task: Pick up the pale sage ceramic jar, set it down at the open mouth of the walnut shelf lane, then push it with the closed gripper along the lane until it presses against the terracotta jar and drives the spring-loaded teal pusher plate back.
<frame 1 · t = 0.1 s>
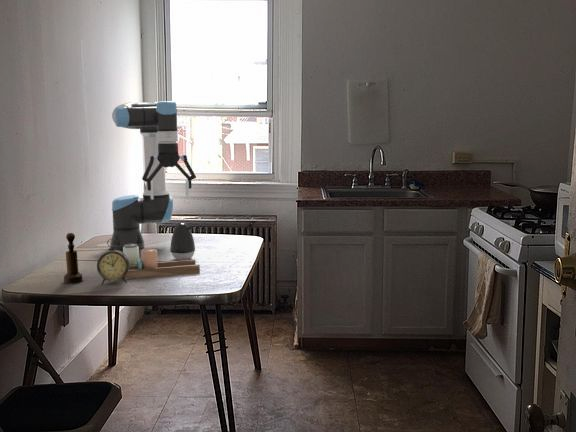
hand: (170, 198, 264), 28 cm above the table, fingers open, 13 cm apart
pusher: (131, 267, 258), point 3 cm above the table, slide at 0.0 cm
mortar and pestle: (73, 281, 251), on the table
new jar: (131, 269, 269), on the table
alarm clock: (114, 283, 248), on the table
lane: (159, 272, 262), on the table
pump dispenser: (183, 259, 285), on the table
jar in lane: (150, 273, 261), resting in lane
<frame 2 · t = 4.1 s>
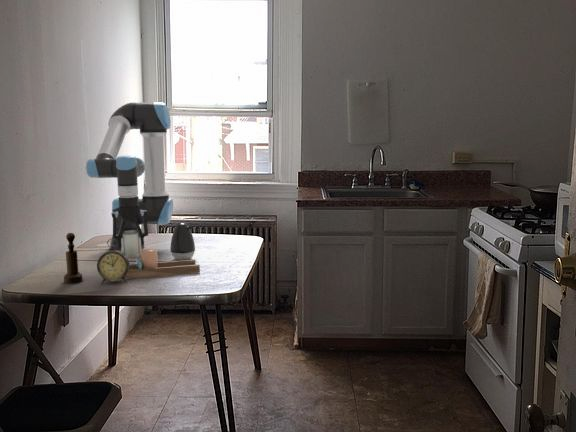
hand: (131, 254, 268), 6 cm above the table, fingers closed on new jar, 6 cm apart
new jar: (131, 255, 268), point 5 cm above the table, touching gripper
everything else where it was.
when the fingers open (1 cm above the table, at t = 8.7 s): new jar stays where it is, resting in lane.
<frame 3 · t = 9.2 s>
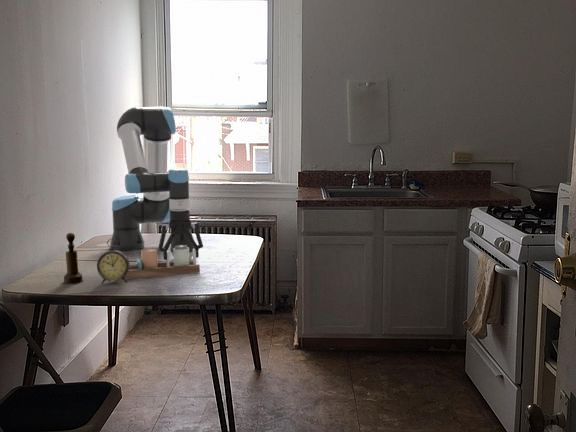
hand: (181, 267, 264), 2 cm above the table, fingers open, 9 cm apart
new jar: (181, 271, 265), resting in lane
everything else where it was.
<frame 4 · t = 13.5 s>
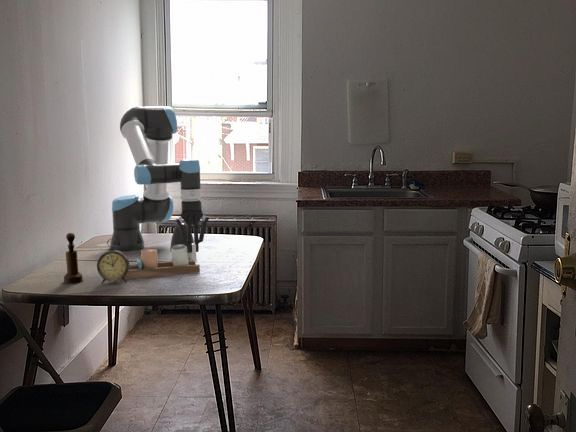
hand: (194, 260, 265), 4 cm above the table, fingers closed
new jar: (181, 270, 264), resting in lane, tilted 6°, touching gripper
everything else where it was.
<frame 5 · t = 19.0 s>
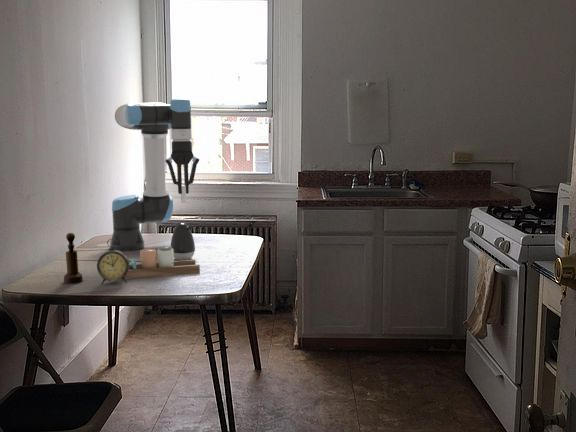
hand: (183, 202, 263), 26 cm above the table, fingers closed
pusher: (125, 267, 258), point 3 cm above the table, slide at 2.0 cm
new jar: (166, 272, 263), resting in lane
everything else where it was.
at the end: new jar inside the target area on the lane (0.2 cm from its centre), point 0.0 cm above the lane's base; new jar tilted 0°; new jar 6.4 cm from the jar in lane (horizontally) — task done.
